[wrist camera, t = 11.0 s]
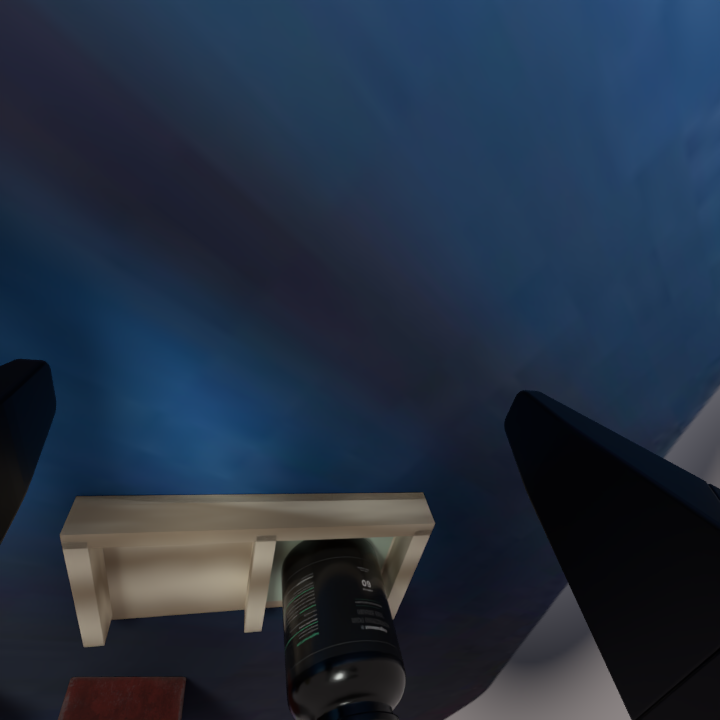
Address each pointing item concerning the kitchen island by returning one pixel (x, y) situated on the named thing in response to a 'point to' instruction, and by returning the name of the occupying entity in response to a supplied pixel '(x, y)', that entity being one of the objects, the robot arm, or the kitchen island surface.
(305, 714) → the supplement bottle
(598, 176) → the kitchen island surface
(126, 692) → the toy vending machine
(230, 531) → the birch rack
